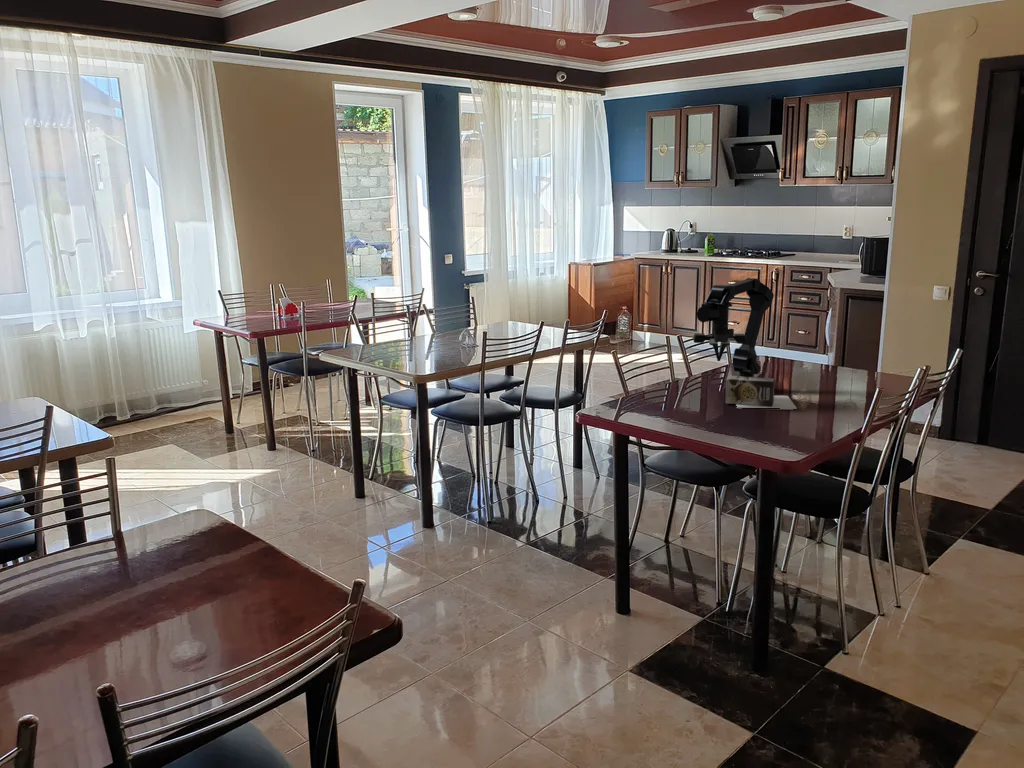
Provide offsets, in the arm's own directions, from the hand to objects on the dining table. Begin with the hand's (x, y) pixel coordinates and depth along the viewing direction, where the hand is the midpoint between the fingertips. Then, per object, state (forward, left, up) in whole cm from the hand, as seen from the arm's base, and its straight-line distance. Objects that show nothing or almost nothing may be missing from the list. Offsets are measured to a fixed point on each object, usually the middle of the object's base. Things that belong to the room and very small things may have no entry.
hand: (718, 361), depth 295 cm
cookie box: (+12, +2, -8) cm, 15 cm away
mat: (+11, +15, -13) cm, 23 cm away
